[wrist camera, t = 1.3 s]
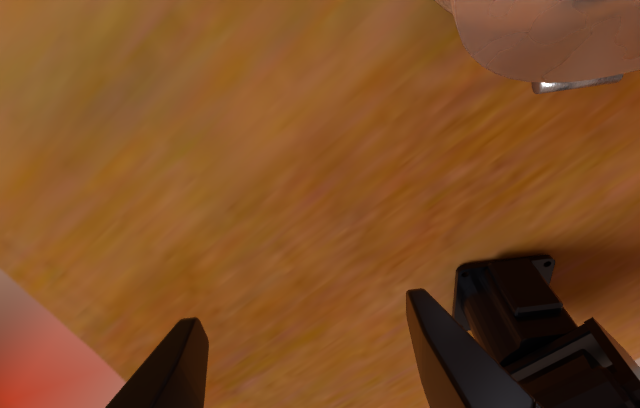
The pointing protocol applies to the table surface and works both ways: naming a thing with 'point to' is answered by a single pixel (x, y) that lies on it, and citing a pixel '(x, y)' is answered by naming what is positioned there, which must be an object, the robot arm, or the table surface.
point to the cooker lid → (552, 40)
